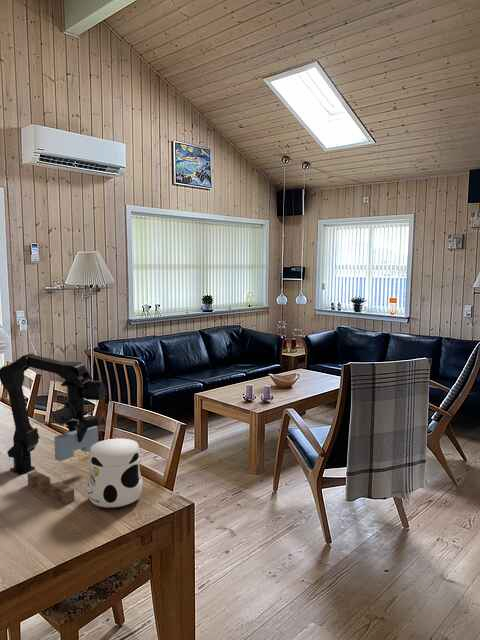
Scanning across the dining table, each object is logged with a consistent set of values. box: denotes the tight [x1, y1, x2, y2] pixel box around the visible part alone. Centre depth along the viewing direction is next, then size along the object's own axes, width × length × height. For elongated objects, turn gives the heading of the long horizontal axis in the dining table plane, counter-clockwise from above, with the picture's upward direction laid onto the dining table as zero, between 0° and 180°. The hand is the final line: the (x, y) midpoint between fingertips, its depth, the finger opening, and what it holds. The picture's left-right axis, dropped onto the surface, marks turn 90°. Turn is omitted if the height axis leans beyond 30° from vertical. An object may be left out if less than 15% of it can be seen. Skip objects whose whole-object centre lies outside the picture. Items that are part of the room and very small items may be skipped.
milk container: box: [87, 437, 144, 509], centre depth 160 cm, size 17×17×18 cm
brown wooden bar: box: [27, 470, 75, 505], centre depth 165 cm, size 22×3×4 cm, turn 54°
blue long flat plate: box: [53, 425, 99, 462], centre depth 177 cm, size 3×16×8 cm, turn 144°
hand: (77, 441), depth 177 cm, fingers closed on blue long flat plate, 3 cm apart
